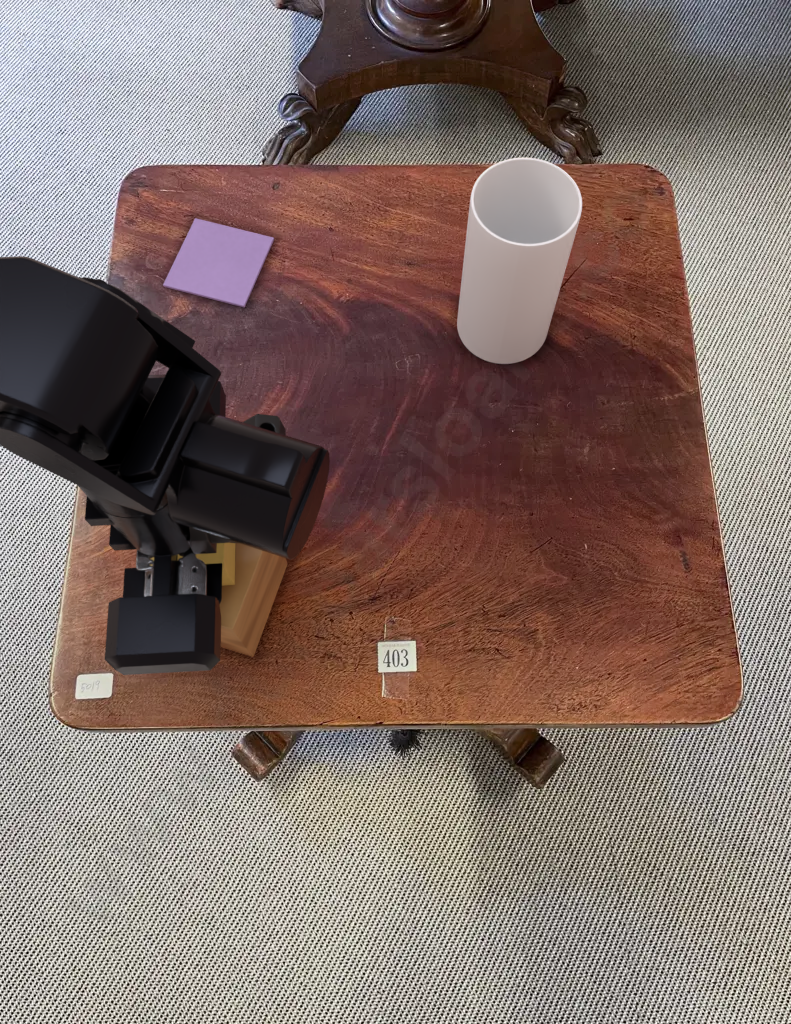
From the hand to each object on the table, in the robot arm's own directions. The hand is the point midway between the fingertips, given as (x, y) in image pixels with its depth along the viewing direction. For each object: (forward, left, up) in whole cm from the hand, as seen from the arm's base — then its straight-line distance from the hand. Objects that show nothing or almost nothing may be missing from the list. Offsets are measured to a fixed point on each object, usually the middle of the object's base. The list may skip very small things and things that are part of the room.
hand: (199, 559), depth 60 cm
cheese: (0, 0, 0) cm, 0 cm away
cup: (+15, +31, -9) cm, 36 cm away
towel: (-12, +30, -9) cm, 34 cm away
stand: (0, 0, -9) cm, 9 cm away
